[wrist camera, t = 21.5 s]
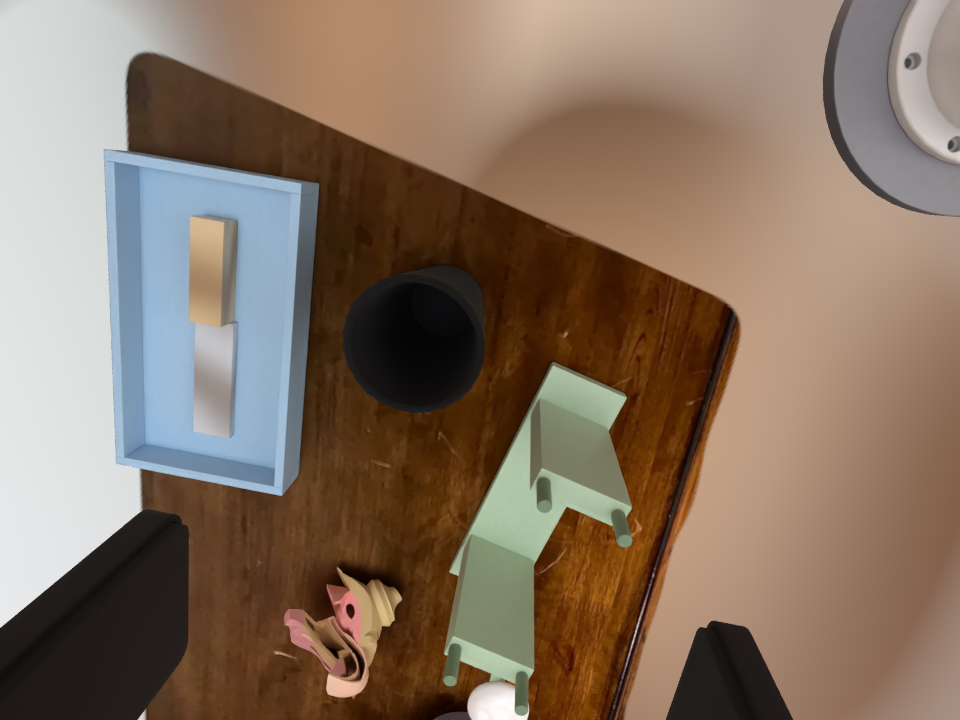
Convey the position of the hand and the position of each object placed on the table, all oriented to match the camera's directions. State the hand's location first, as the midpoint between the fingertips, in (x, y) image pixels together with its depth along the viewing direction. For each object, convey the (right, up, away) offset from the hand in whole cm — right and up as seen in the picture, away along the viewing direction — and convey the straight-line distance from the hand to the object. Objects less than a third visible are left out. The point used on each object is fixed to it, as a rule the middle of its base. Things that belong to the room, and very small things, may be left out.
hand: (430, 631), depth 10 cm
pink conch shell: (-10, -17, +40) cm, 45 cm away
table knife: (-19, +7, +33) cm, 38 cm away
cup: (-2, +9, +31) cm, 33 cm away
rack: (+5, -5, +35) cm, 36 cm away
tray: (-19, +8, +33) cm, 39 cm away
